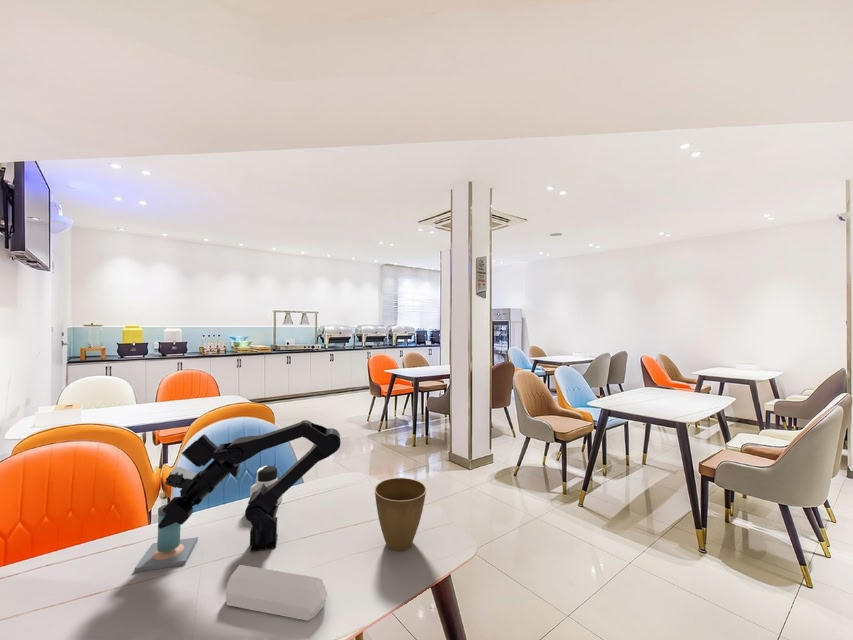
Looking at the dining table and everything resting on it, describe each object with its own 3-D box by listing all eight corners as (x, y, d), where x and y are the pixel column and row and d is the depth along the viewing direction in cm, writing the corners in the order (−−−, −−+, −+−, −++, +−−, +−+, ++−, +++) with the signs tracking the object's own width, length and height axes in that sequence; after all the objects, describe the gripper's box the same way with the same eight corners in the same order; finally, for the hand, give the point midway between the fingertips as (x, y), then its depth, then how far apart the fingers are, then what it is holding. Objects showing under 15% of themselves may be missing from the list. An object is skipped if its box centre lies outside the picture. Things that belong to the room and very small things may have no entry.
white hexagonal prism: (337, 577, 85) (247, 562, 90) (325, 579, 79) (229, 563, 84) (329, 617, 81) (235, 599, 86) (316, 623, 75) (215, 603, 80)
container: (282, 501, 129) (283, 464, 130) (270, 511, 122) (272, 472, 122) (261, 499, 130) (262, 463, 130) (249, 510, 122) (250, 471, 123)
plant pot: (364, 554, 100) (366, 495, 100) (385, 526, 114) (386, 475, 114) (416, 564, 96) (417, 503, 96) (431, 534, 110) (431, 481, 110)
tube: (184, 540, 100) (186, 502, 100) (171, 552, 95) (172, 512, 95) (166, 540, 100) (167, 502, 100) (151, 552, 95) (153, 511, 95)
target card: (197, 540, 104) (197, 536, 104) (185, 564, 94) (185, 560, 94) (152, 547, 101) (152, 543, 101) (134, 572, 91) (134, 568, 91)
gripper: (200, 447, 108) (156, 487, 105) (173, 471, 90) (119, 521, 87) (228, 471, 110) (186, 512, 107) (207, 499, 92) (156, 549, 89)
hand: (163, 522), depth 97 cm, fingers closed on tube, 5 cm apart
